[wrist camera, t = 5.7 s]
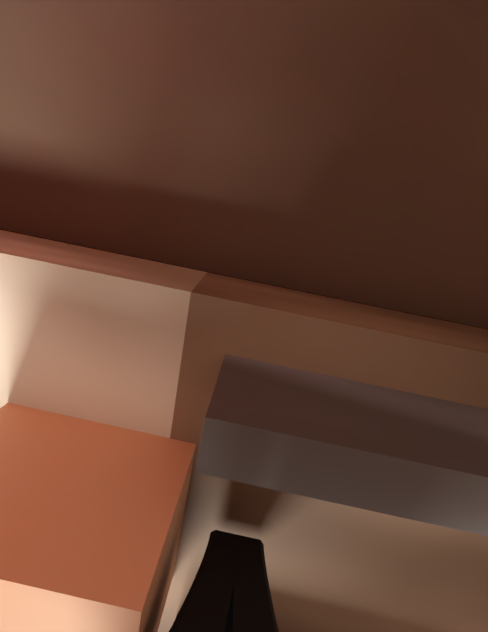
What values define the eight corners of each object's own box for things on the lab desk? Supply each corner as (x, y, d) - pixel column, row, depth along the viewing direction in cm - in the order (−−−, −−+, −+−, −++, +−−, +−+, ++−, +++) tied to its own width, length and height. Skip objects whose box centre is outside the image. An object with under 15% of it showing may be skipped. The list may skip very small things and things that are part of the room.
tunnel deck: (489, 668, 14) (578, 873, 10) (-211, 511, 15) (-406, 641, 11) (691, 371, 10) (1003, 513, 6) (-318, 164, 10) (-725, 150, 6)
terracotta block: (172, 577, 11) (118, 774, 8) (12, 540, 11) (-121, 717, 8) (196, 444, 10) (141, 612, 6) (7, 402, 10) (-166, 540, 6)
